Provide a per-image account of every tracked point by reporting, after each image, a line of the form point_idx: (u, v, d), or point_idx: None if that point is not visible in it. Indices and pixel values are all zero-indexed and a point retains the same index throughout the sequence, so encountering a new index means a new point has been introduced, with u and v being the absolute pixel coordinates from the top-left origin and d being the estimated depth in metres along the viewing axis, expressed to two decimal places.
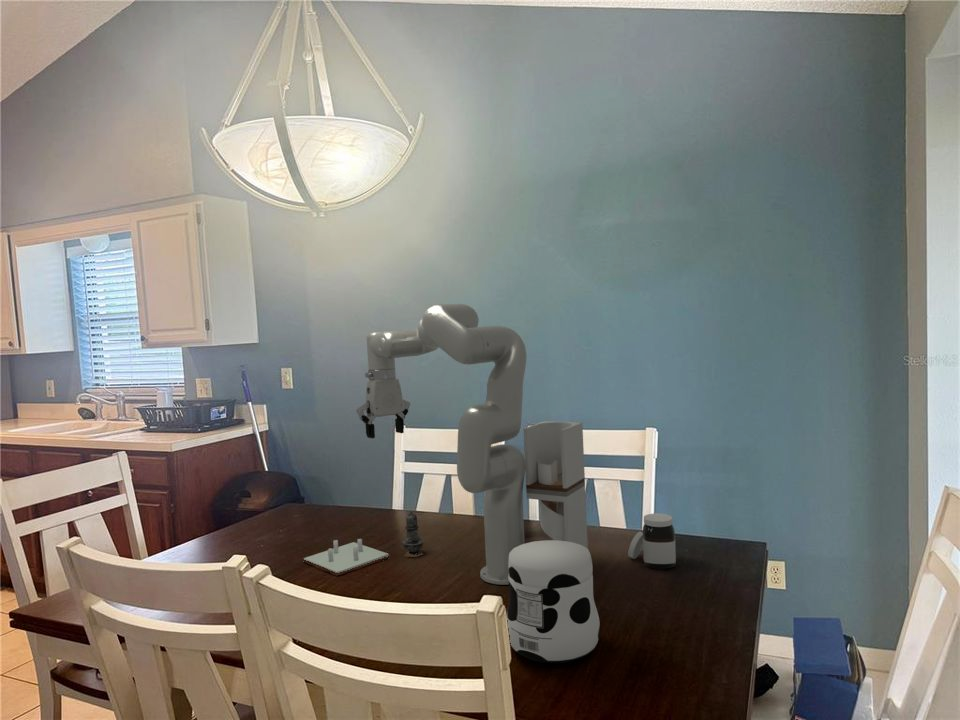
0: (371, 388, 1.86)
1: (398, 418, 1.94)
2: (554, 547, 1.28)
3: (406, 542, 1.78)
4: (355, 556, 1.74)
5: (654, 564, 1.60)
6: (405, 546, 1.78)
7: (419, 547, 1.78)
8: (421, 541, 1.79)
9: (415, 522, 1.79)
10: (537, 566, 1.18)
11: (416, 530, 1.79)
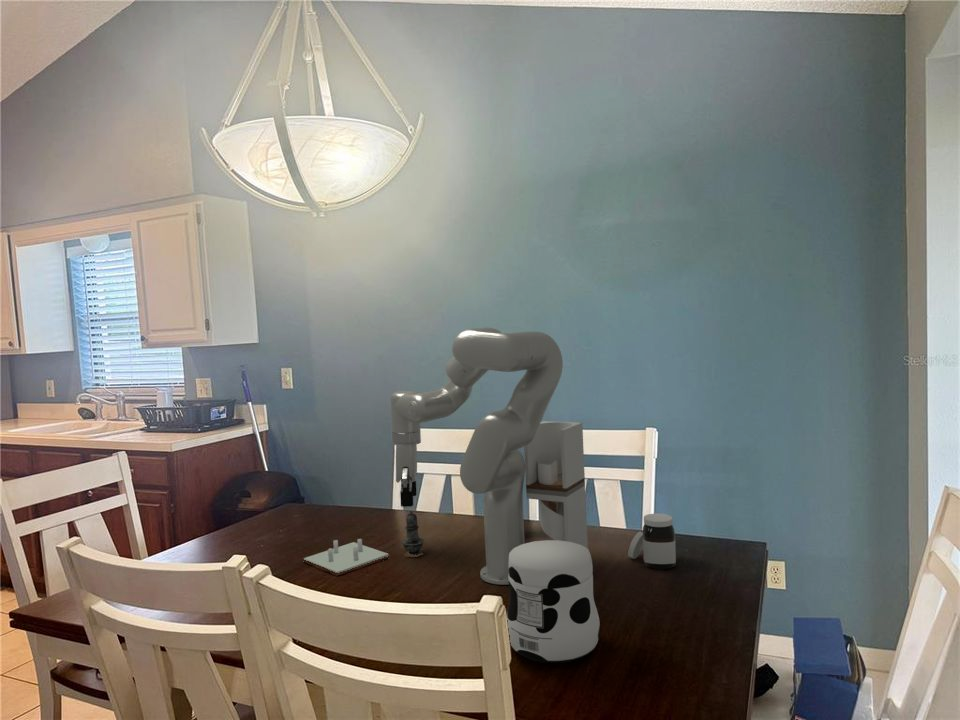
0: None
1: None
2: (554, 546, 1.28)
3: (406, 542, 1.78)
4: (355, 556, 1.74)
5: (654, 564, 1.60)
6: (405, 546, 1.78)
7: (419, 547, 1.78)
8: (421, 541, 1.79)
9: (415, 522, 1.79)
10: (537, 566, 1.18)
11: (416, 530, 1.79)
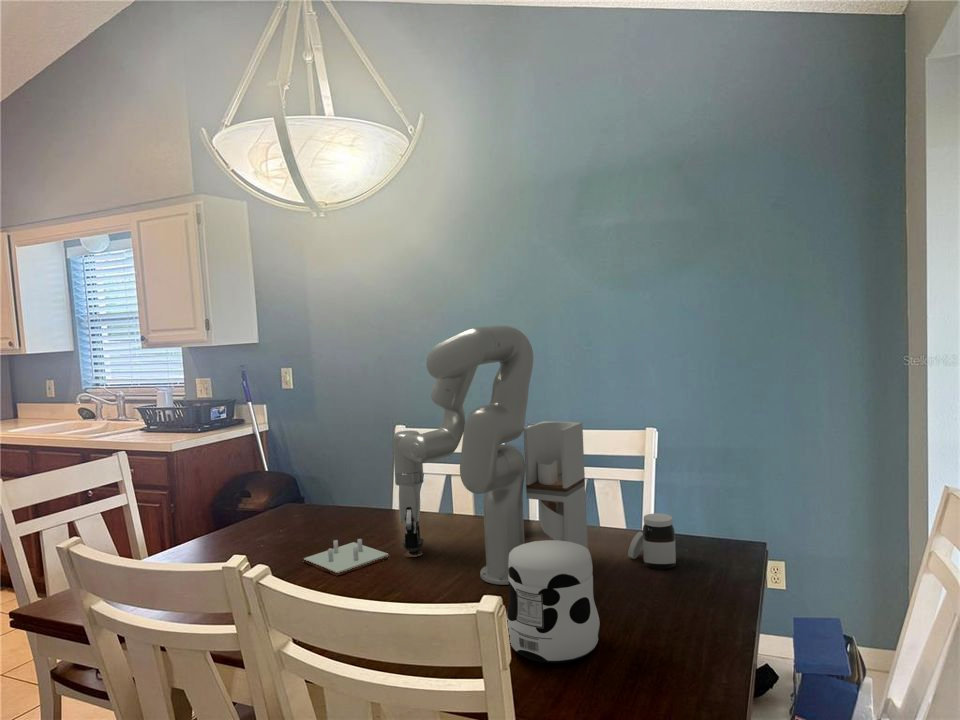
0: None
1: None
2: (554, 546, 1.28)
3: None
4: (355, 556, 1.74)
5: (654, 564, 1.60)
6: (405, 546, 1.78)
7: (419, 547, 1.78)
8: (421, 541, 1.79)
9: None
10: (536, 566, 1.18)
11: (416, 530, 1.79)
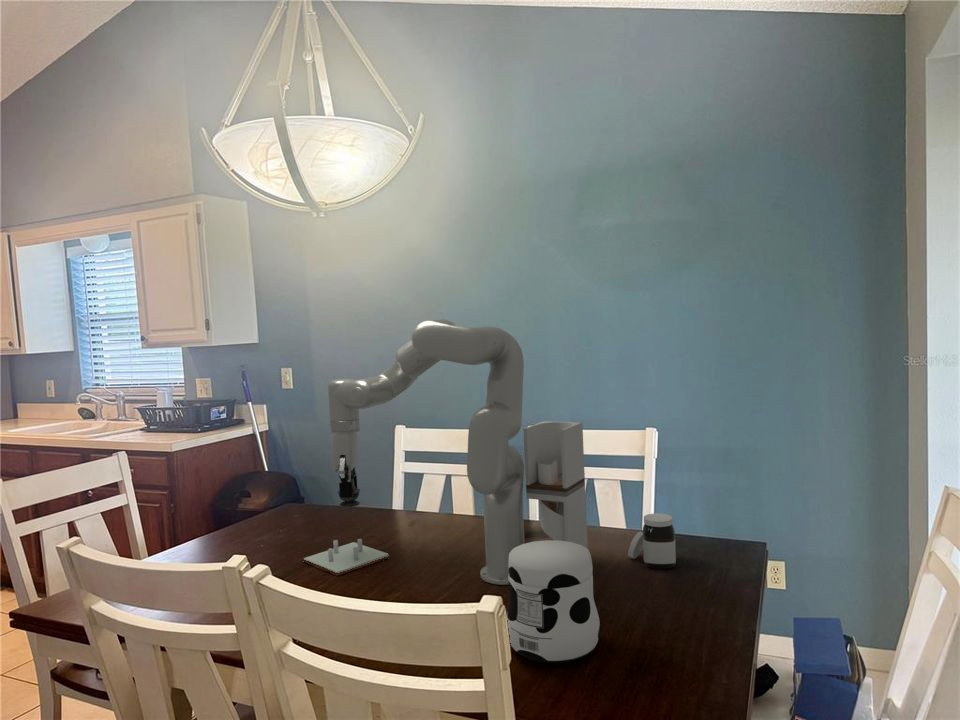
0: None
1: None
2: (554, 546, 1.28)
3: None
4: (355, 556, 1.74)
5: (654, 564, 1.60)
6: None
7: (354, 496, 1.76)
8: (357, 491, 1.76)
9: (351, 471, 1.76)
10: (537, 566, 1.18)
11: (352, 479, 1.76)
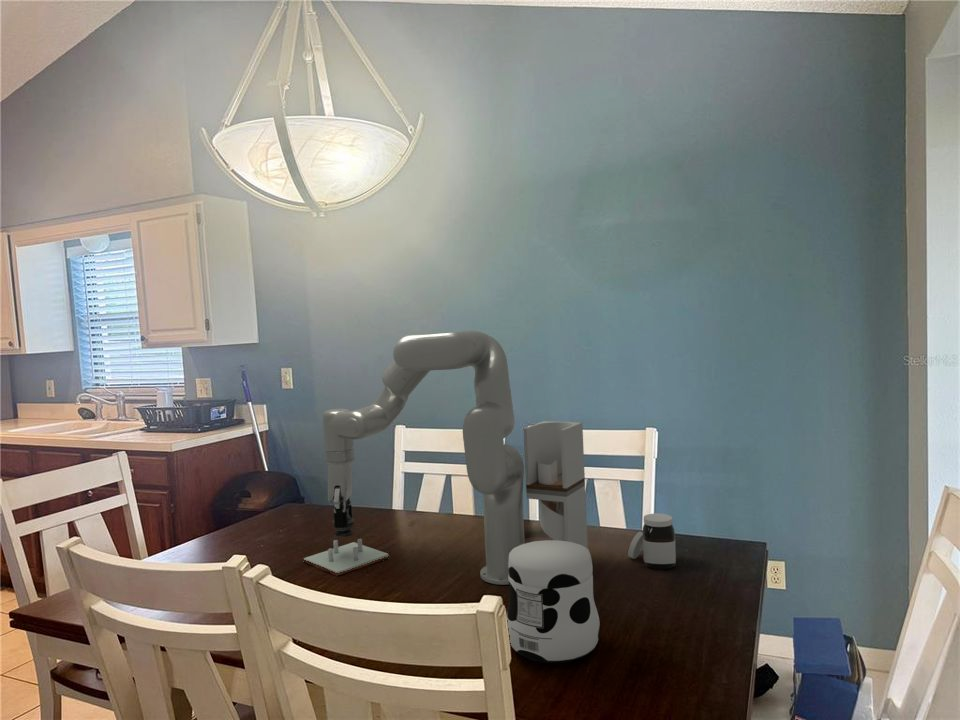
0: None
1: None
2: (554, 547, 1.28)
3: None
4: (355, 556, 1.74)
5: (654, 564, 1.60)
6: None
7: (349, 526, 1.76)
8: (351, 520, 1.77)
9: None
10: (536, 566, 1.18)
11: (346, 509, 1.76)
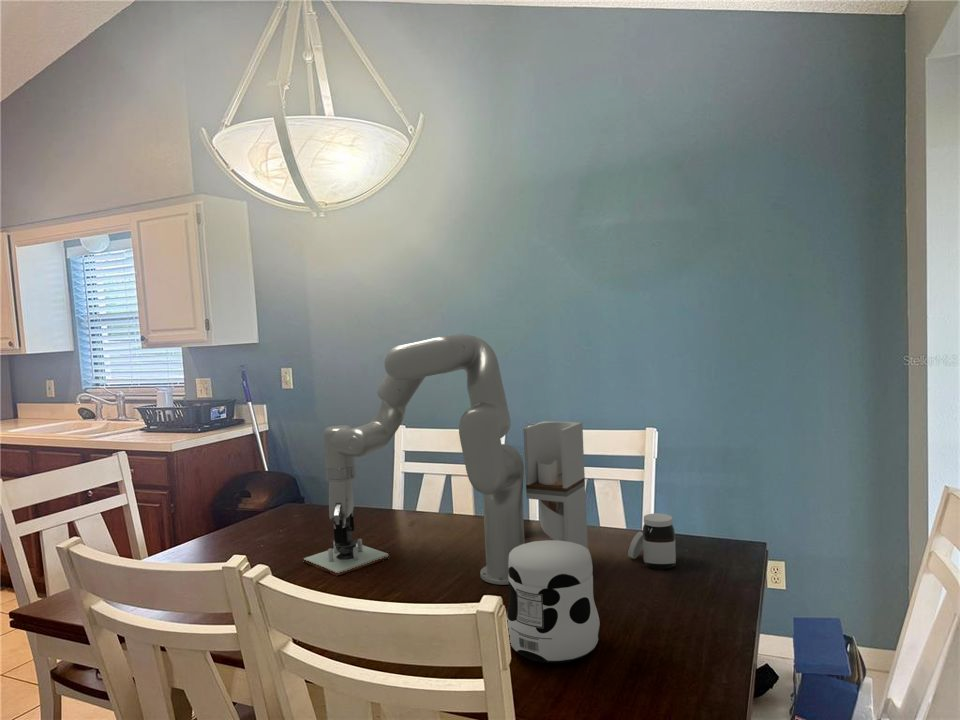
0: None
1: None
2: (554, 546, 1.28)
3: (338, 544, 1.76)
4: (355, 556, 1.74)
5: (654, 564, 1.60)
6: (337, 548, 1.76)
7: (351, 549, 1.76)
8: (354, 543, 1.77)
9: (348, 523, 1.76)
10: (537, 566, 1.18)
11: (349, 532, 1.77)
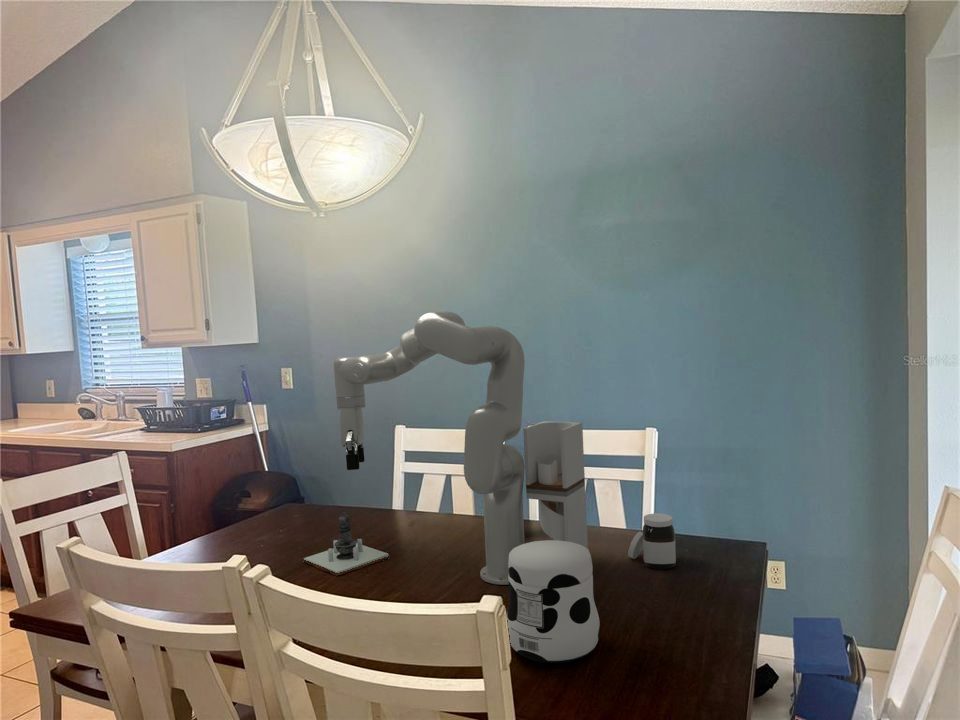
0: None
1: None
2: (554, 547, 1.28)
3: (338, 544, 1.76)
4: (355, 556, 1.74)
5: (654, 564, 1.60)
6: (337, 548, 1.76)
7: (351, 549, 1.76)
8: (354, 543, 1.77)
9: (347, 523, 1.76)
10: (536, 566, 1.18)
11: (348, 532, 1.77)
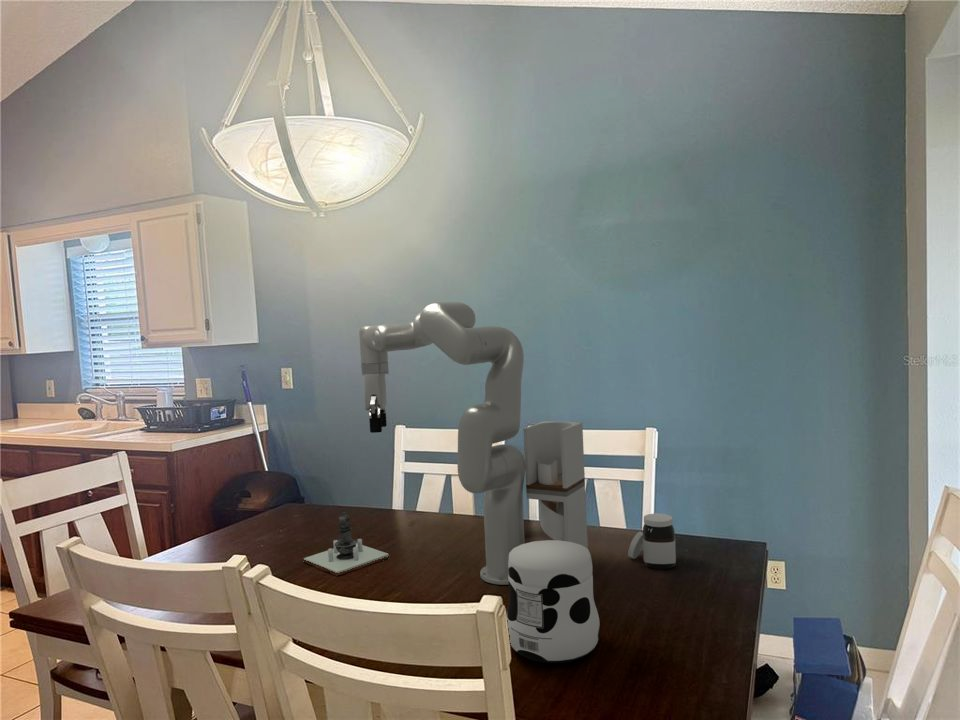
0: None
1: None
2: (553, 546, 1.28)
3: (338, 544, 1.76)
4: (355, 556, 1.74)
5: (654, 564, 1.60)
6: (337, 548, 1.76)
7: (351, 549, 1.76)
8: (354, 543, 1.77)
9: (347, 523, 1.76)
10: (536, 566, 1.18)
11: (348, 532, 1.77)
